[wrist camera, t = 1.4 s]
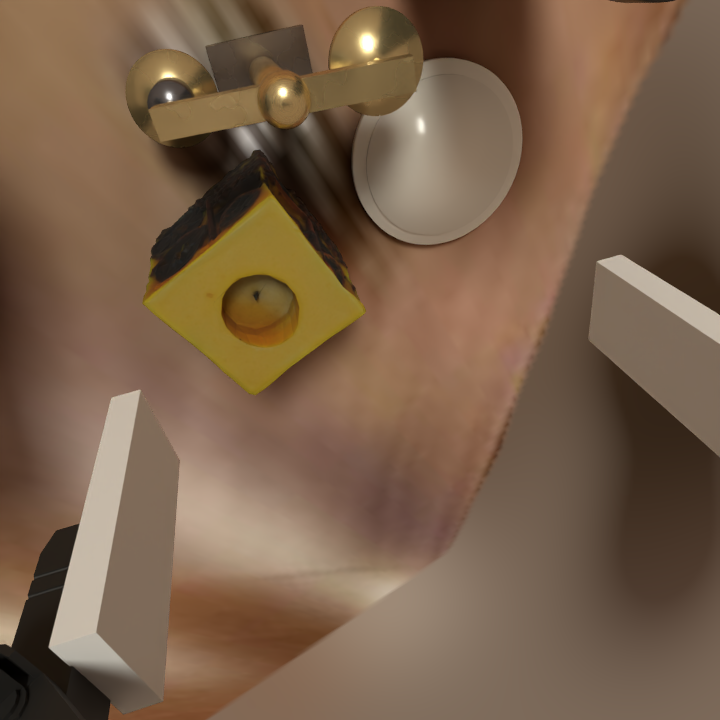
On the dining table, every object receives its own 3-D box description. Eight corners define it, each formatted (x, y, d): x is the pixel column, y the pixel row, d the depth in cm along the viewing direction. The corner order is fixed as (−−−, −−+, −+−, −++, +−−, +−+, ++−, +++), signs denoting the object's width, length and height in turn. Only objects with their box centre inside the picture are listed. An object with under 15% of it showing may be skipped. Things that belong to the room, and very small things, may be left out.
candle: (258, 145, 36) (271, 186, 28) (343, 251, 42) (374, 310, 34) (150, 237, 38) (133, 300, 30) (246, 326, 43) (253, 400, 35)
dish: (366, 258, 42) (370, 264, 41) (334, 81, 35) (338, 83, 34) (516, 218, 43) (523, 223, 43) (517, 38, 36) (525, 39, 35)
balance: (154, 141, 34) (126, 206, 23) (120, 54, 31) (70, 82, 20) (387, 85, 36) (466, 122, 25) (375, -2, 33) (459, -6, 22)
